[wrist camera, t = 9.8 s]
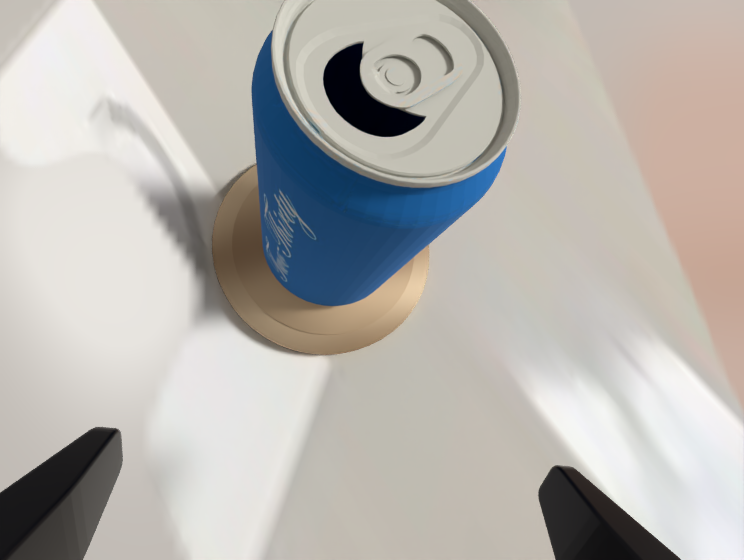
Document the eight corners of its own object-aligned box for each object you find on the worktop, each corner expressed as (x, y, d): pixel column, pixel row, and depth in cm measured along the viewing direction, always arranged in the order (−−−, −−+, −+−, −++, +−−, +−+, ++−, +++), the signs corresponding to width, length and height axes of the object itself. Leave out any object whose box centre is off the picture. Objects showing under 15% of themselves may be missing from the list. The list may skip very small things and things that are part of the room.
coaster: (456, 308, 21) (462, 306, 21) (258, 391, 18) (258, 392, 17) (379, 135, 23) (382, 128, 22) (183, 181, 19) (180, 174, 19)
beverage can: (234, 231, 19) (176, 2, 7) (338, 166, 21) (415, -87, 10) (318, 336, 18) (392, 267, 7) (414, 259, 21) (587, 112, 9)
